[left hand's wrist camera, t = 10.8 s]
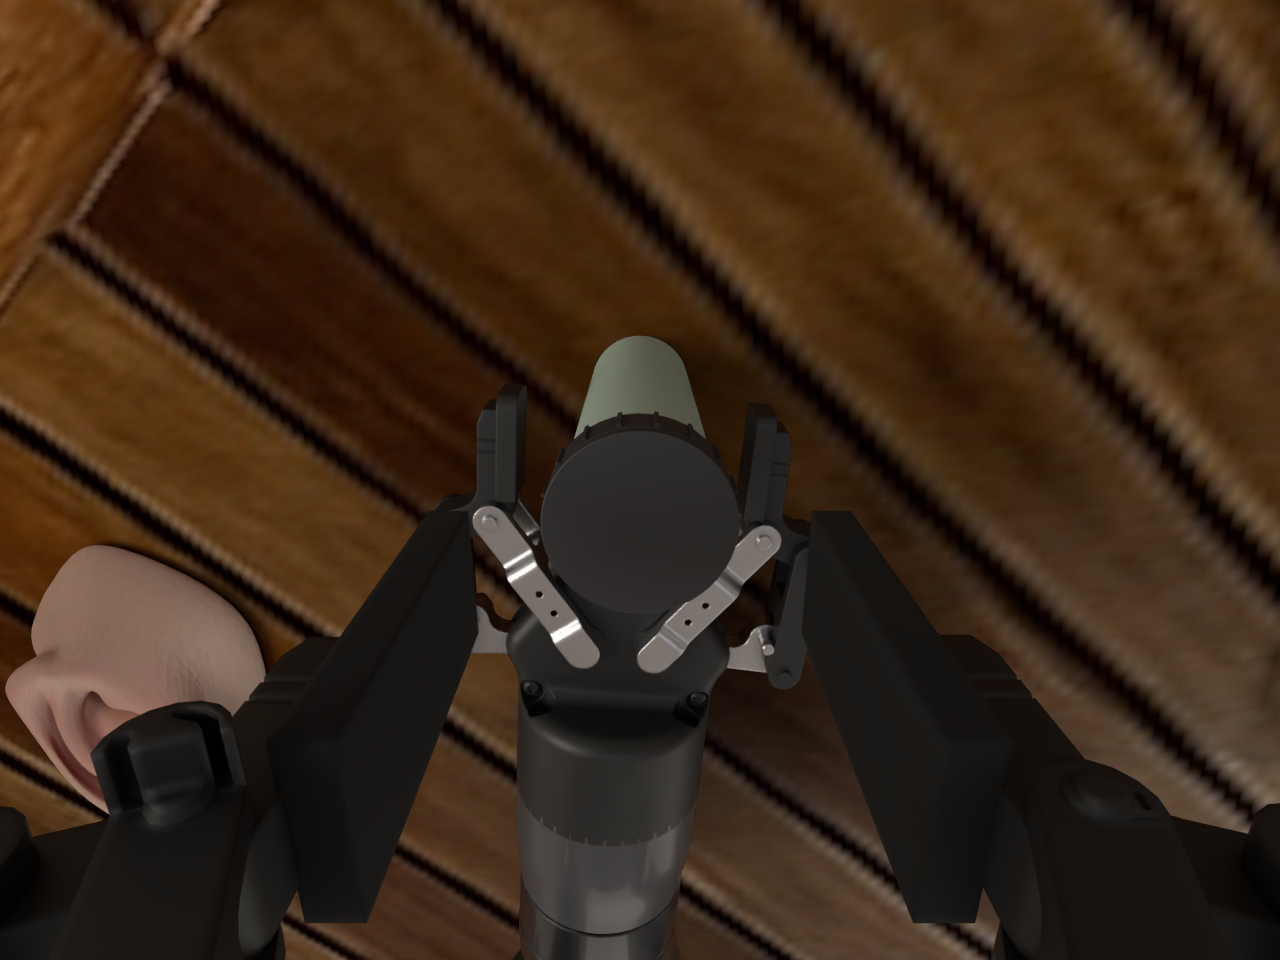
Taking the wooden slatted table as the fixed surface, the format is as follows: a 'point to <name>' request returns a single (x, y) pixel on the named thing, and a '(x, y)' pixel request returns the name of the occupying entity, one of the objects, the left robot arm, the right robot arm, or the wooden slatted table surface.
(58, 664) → the anatomical model
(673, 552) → the lid
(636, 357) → the bottle
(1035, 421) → the wooden slatted table surface
